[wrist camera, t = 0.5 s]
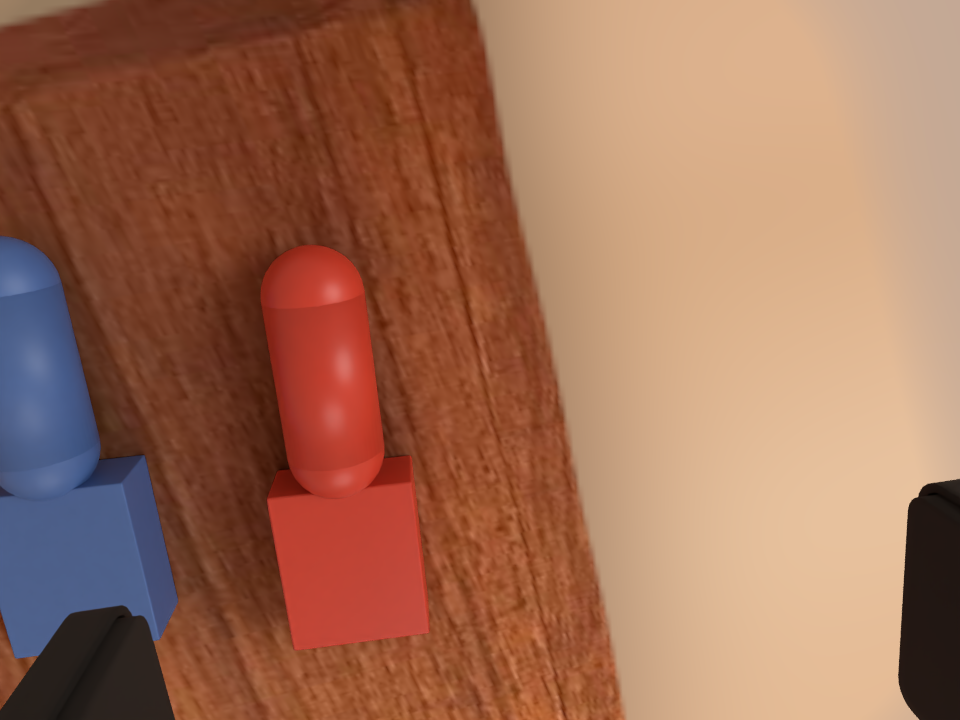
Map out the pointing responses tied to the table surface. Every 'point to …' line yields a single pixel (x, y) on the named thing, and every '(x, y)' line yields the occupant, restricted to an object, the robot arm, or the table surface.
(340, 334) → the red stamp
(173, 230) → the table surface
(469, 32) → the table surface
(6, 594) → the blue stamp block
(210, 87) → the table surface
